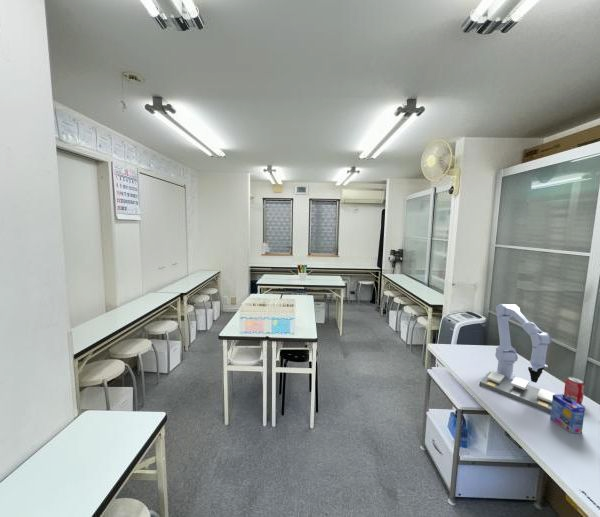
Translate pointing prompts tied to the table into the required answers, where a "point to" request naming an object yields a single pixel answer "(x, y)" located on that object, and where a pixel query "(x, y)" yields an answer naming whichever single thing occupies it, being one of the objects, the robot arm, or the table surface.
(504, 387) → the switch panel
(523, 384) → the switch
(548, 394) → the switch
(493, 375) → the switch
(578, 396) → the soda can
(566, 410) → the ink cartridge box
